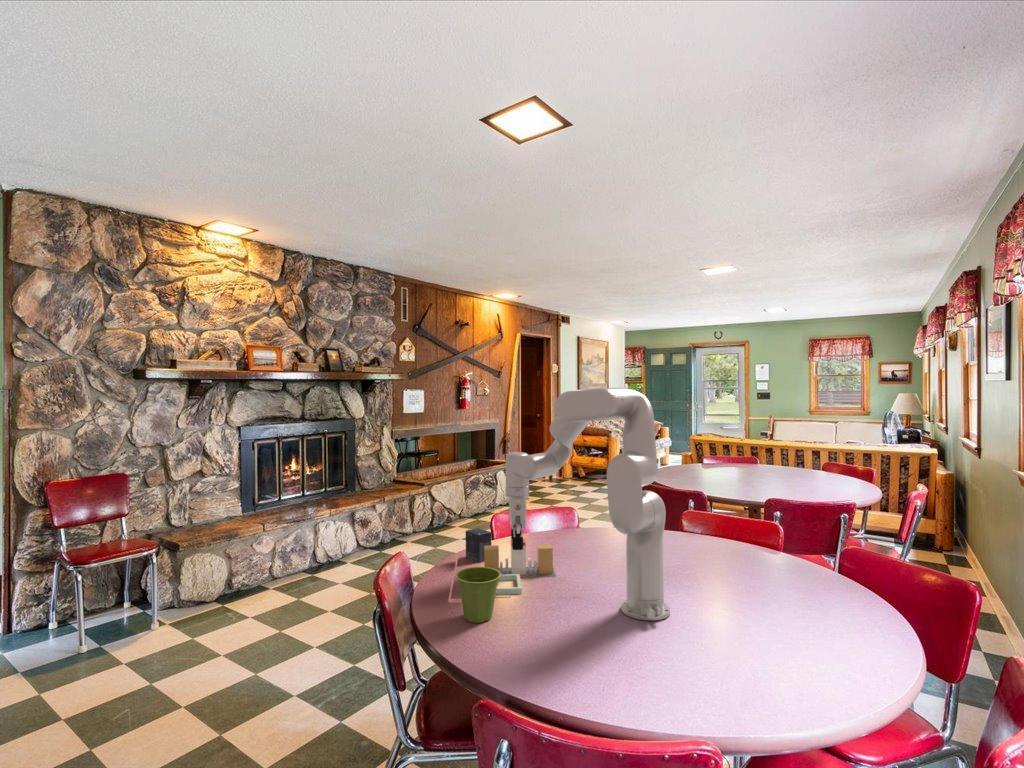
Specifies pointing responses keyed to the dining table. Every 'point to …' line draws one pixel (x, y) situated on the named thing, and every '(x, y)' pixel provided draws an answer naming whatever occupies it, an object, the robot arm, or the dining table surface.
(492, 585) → the plant pot
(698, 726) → the dining table surface
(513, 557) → the white block red top
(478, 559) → the box
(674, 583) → the dining table surface
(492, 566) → the fuse block
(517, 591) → the tray
